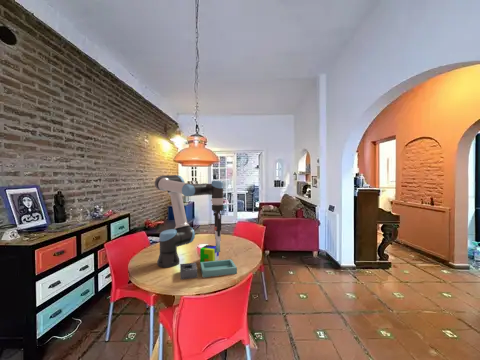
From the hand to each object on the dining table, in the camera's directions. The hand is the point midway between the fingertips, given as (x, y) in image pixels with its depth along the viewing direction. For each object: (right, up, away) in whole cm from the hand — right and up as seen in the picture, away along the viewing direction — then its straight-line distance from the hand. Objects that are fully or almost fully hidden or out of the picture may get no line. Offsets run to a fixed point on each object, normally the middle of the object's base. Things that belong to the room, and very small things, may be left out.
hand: (217, 239), depth 154 cm
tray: (0, -20, +1) cm, 20 cm away
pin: (0, -8, 0) cm, 8 cm away
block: (-18, -21, -5) cm, 28 cm away
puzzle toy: (-8, -20, +18) cm, 28 cm away
